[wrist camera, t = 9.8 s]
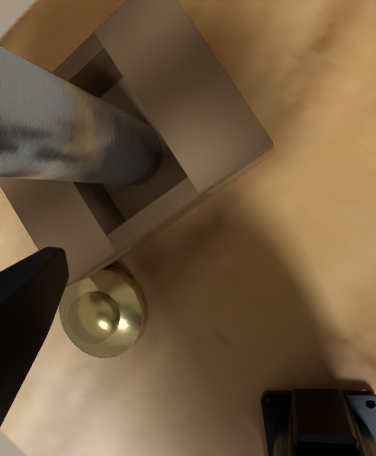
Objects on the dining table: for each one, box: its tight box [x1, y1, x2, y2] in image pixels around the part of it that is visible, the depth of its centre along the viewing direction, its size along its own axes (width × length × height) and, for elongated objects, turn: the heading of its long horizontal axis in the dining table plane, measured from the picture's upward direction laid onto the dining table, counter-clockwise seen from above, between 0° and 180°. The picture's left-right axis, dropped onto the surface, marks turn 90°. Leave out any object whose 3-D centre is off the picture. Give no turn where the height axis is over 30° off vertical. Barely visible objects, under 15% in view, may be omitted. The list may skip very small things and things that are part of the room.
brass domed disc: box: [59, 266, 147, 358], centre depth 22 cm, size 6×6×2 cm
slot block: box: [0, 0, 274, 287], centre depth 19 cm, size 10×14×4 cm
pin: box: [0, 46, 162, 185], centre depth 14 cm, size 4×4×13 cm
